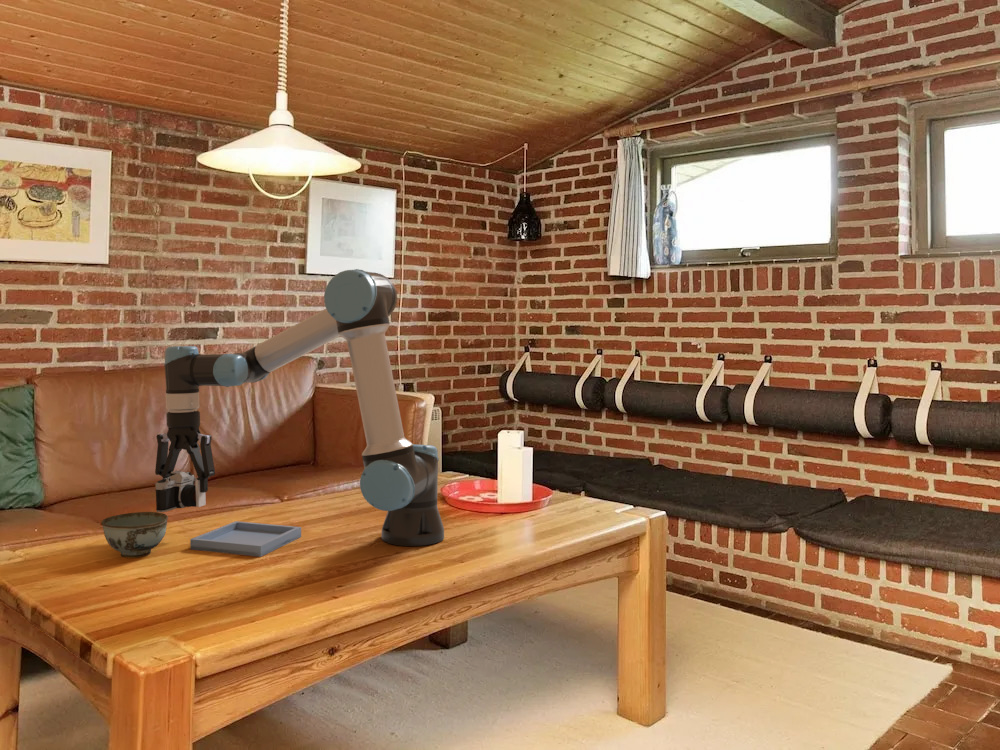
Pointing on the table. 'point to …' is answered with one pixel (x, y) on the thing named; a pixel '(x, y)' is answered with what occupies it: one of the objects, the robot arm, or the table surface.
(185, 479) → the camera
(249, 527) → the tray
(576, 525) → the table surface
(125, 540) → the bowl
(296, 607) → the table surface
